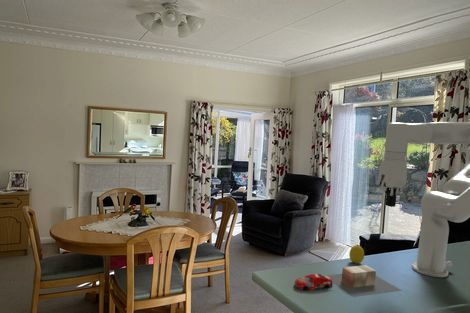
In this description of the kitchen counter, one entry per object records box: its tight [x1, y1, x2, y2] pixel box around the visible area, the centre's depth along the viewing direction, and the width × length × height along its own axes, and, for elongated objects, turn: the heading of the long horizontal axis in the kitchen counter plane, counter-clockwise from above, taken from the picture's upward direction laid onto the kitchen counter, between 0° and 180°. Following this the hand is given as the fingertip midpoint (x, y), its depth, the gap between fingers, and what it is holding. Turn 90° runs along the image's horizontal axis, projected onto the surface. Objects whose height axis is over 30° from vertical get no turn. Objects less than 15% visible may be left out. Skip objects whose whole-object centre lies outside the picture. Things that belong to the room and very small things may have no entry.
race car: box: [294, 273, 334, 292], centre depth 120 cm, size 13×5×4 cm, turn 107°
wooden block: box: [341, 264, 377, 288], centre depth 124 cm, size 5×5×10 cm
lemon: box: [348, 244, 365, 265], centre depth 143 cm, size 6×6×8 cm
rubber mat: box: [324, 273, 402, 298], centre depth 125 cm, size 20×16×1 cm
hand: (390, 205), depth 133 cm, fingers closed
